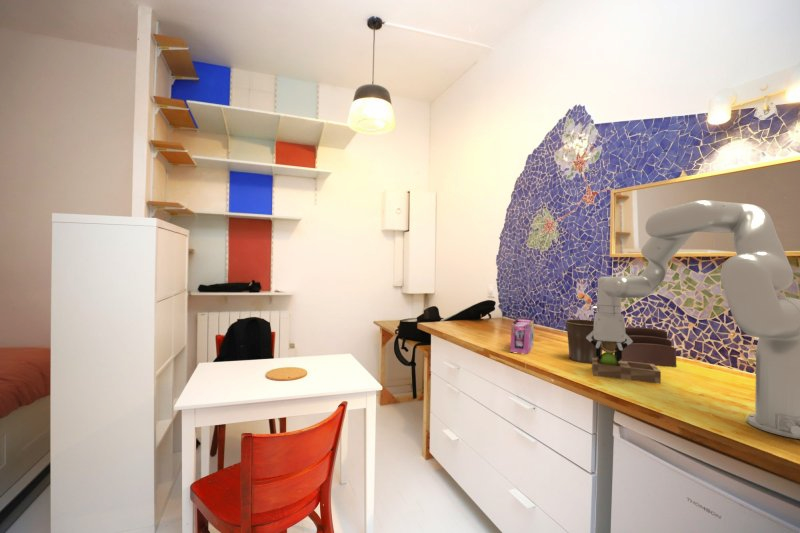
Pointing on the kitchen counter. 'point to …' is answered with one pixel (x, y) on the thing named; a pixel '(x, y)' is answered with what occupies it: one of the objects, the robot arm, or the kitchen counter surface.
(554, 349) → the kitchen counter surface
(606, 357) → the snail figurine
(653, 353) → the letter holder
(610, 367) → the brown wooden flat frame
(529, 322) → the gum box
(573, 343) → the plant pot
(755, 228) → the robot arm
